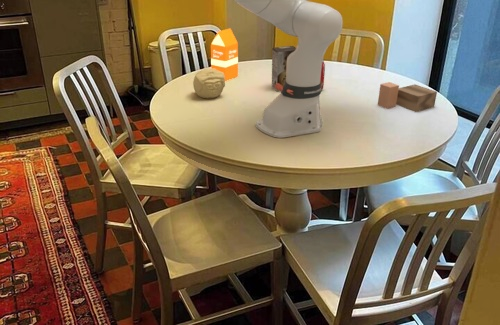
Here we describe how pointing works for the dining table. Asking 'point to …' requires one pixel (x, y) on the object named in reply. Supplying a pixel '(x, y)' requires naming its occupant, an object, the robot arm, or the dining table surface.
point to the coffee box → (280, 64)
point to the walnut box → (416, 98)
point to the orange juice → (225, 54)
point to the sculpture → (209, 83)
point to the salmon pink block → (388, 95)
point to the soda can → (322, 74)
